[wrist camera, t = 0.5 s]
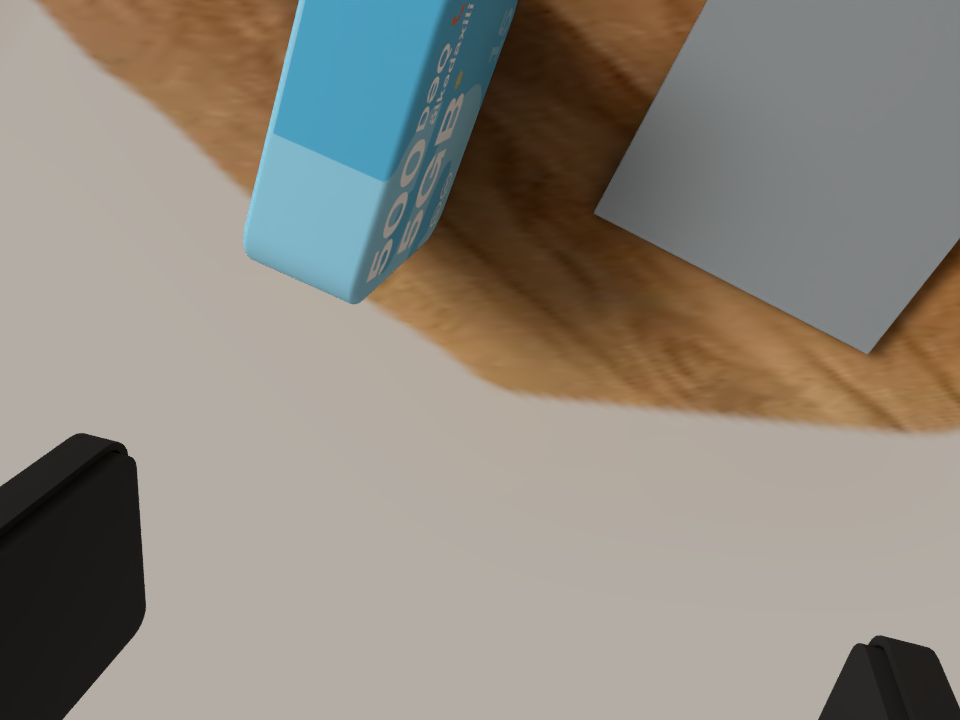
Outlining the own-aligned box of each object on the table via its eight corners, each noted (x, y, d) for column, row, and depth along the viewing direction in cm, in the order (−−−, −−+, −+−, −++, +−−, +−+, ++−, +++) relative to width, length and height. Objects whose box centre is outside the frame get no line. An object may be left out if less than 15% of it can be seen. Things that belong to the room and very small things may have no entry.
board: (831, -231, 28) (836, -240, 27) (1176, -55, 28) (1193, -58, 27) (595, 208, 36) (593, 213, 35) (862, 346, 36) (867, 354, 35)
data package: (434, 236, 38) (346, 319, 27) (352, 199, 38) (232, 268, 28) (526, -16, 33) (461, -35, 22) (430, -57, 33) (318, -96, 22)
